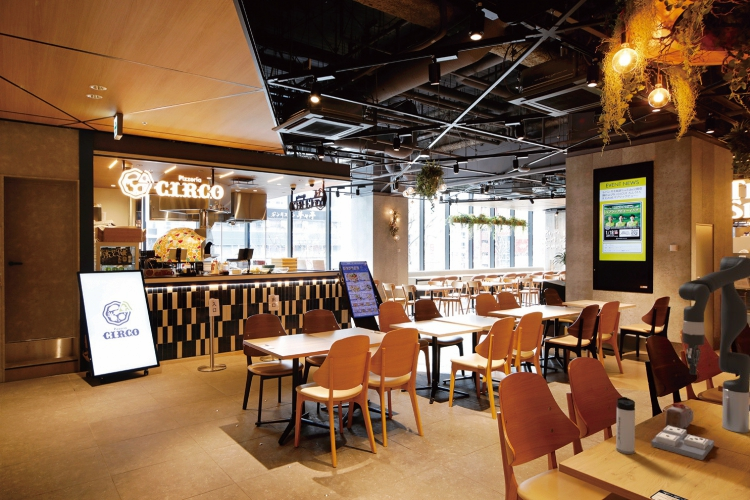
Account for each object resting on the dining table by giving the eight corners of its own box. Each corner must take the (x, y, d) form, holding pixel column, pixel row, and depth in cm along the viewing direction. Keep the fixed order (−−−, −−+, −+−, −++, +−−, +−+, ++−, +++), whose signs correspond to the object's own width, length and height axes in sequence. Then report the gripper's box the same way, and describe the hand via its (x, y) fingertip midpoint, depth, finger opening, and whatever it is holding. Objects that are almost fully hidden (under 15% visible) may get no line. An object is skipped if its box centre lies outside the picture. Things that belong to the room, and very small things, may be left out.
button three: (690, 440, 187) (690, 435, 187) (705, 444, 183) (705, 438, 183) (686, 444, 183) (687, 438, 183) (702, 448, 179) (702, 442, 179)
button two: (669, 431, 196) (669, 425, 196) (683, 434, 193) (683, 429, 192) (665, 434, 193) (666, 428, 193) (680, 437, 189) (680, 432, 189)
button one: (662, 437, 189) (662, 432, 189) (676, 441, 186) (676, 435, 186) (658, 440, 186) (658, 435, 186) (673, 444, 182) (673, 439, 182)
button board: (665, 433, 199) (665, 423, 199) (713, 445, 187) (714, 435, 187) (651, 446, 186) (651, 436, 186) (702, 460, 174) (702, 449, 174)
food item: (674, 419, 216) (674, 398, 216) (694, 424, 209) (694, 402, 209) (663, 426, 207) (663, 404, 207) (684, 432, 201) (684, 409, 201)
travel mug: (632, 448, 183) (633, 397, 183) (636, 455, 177) (636, 402, 177) (614, 446, 185) (615, 395, 185) (617, 453, 179) (618, 401, 179)
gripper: (687, 329, 199) (686, 369, 200) (678, 332, 190) (677, 375, 190) (708, 331, 194) (707, 373, 194) (700, 335, 185) (699, 379, 185)
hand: (692, 374), depth 192 cm, fingers closed
